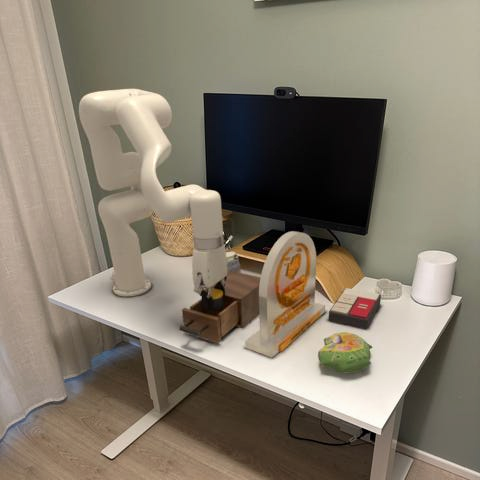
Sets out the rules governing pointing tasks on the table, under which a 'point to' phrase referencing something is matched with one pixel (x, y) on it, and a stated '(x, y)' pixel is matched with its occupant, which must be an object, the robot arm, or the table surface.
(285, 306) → the award
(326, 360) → the educational model
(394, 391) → the table surface
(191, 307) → the drawer
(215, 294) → the jar
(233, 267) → the beverage can
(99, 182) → the robot arm
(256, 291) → the cabinet
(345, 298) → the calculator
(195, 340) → the table surface
